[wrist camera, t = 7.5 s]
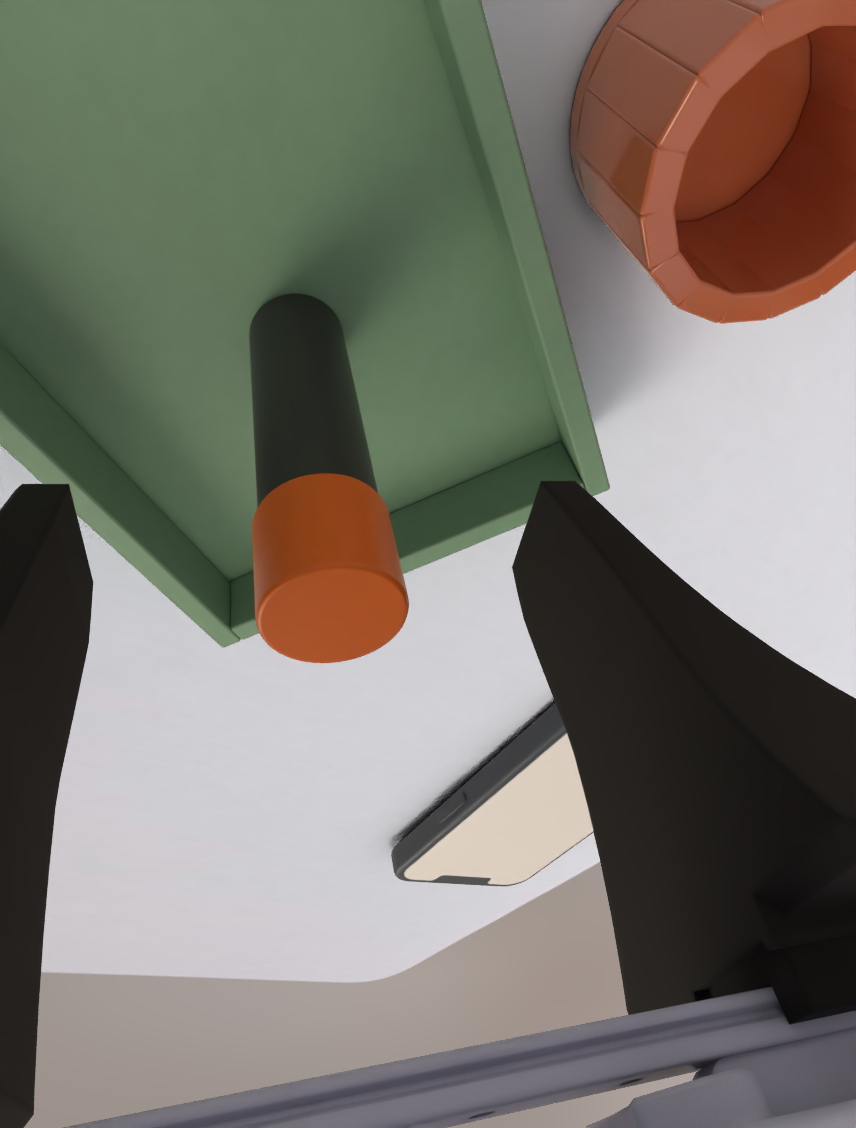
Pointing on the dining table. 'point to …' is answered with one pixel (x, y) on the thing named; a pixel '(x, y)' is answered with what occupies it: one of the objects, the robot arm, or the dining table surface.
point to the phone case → (504, 816)
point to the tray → (272, 270)
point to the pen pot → (725, 148)
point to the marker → (316, 494)
